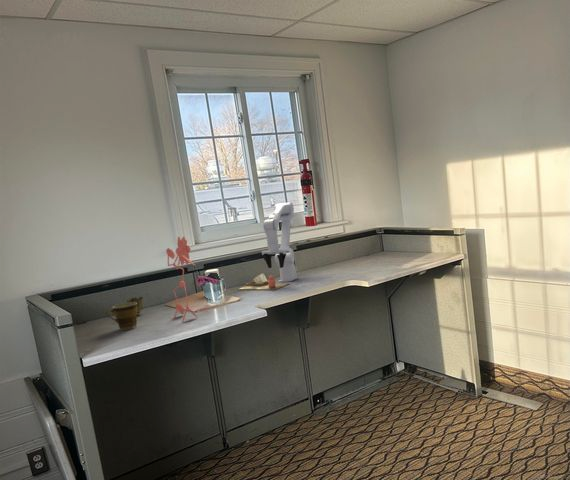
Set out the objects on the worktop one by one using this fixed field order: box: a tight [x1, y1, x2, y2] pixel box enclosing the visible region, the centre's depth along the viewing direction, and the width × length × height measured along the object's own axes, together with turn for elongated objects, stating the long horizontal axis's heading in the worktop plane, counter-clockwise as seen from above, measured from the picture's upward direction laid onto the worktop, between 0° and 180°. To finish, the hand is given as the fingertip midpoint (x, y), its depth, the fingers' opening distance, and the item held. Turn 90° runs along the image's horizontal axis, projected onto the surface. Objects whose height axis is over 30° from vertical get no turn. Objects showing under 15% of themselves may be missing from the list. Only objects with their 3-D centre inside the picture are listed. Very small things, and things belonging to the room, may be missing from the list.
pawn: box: [267, 274, 276, 288], centre depth 261 cm, size 3×3×6 cm
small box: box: [204, 268, 220, 277], centre depth 265 cm, size 8×6×13 cm
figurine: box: [165, 236, 210, 321], centre depth 220 cm, size 15×26×35 cm, turn 36°
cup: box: [126, 296, 144, 317], centre depth 237 cm, size 8×7×8 cm
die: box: [253, 273, 268, 284], centre depth 274 cm, size 5×5×5 cm
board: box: [238, 280, 290, 291], centre depth 270 cm, size 14×23×2 cm, turn 56°
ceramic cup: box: [105, 302, 138, 332], centre depth 211 cm, size 13×10×10 cm
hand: (275, 267), depth 267 cm, fingers open, 7 cm apart
